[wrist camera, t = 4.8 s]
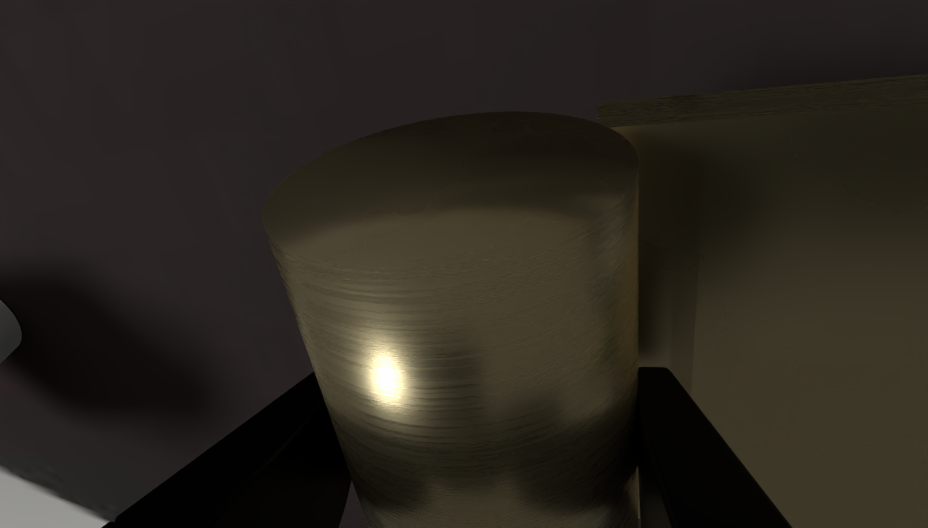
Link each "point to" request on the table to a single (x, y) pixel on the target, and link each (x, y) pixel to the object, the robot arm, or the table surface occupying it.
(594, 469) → the brass hinge leaf
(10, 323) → the pipe fitting
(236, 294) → the table surface
